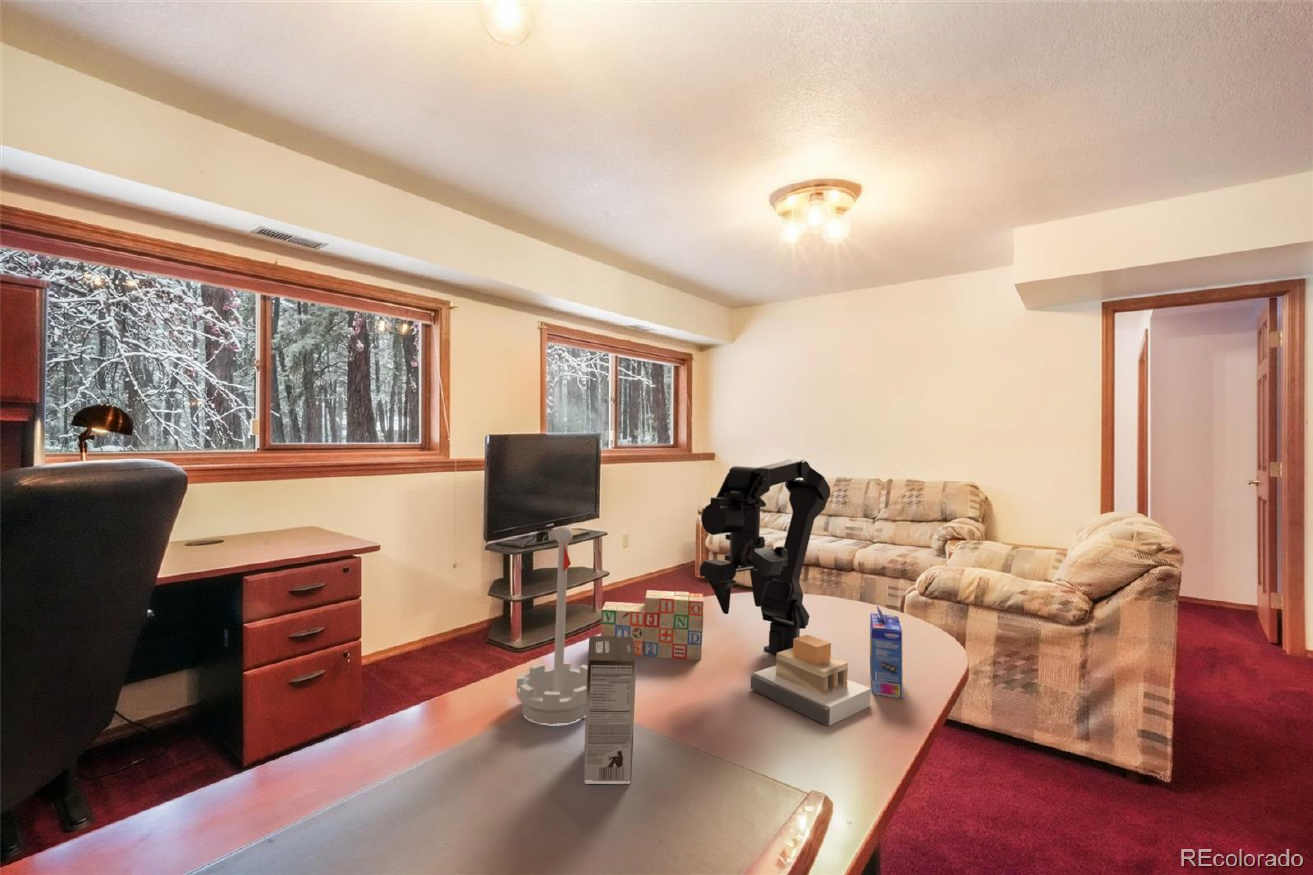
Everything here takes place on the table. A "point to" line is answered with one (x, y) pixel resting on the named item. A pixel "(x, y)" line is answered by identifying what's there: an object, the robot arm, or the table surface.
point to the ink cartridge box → (886, 655)
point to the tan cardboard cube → (812, 649)
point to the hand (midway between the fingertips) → (742, 609)
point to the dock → (812, 697)
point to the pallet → (812, 672)
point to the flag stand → (555, 664)
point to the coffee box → (609, 708)
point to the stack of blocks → (658, 624)
